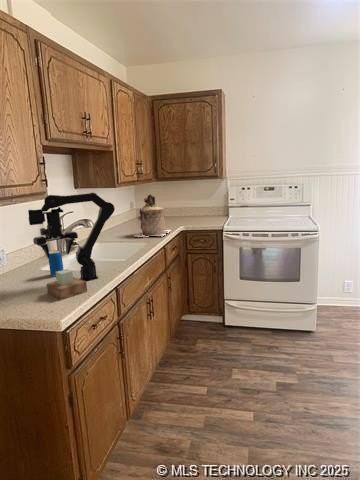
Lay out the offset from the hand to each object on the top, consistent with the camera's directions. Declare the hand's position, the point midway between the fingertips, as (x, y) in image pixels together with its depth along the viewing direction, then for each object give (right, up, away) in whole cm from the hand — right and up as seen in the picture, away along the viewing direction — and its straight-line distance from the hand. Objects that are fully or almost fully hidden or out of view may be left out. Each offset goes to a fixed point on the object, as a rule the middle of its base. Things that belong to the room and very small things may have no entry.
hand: (58, 256), depth 162 cm
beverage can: (-6, -10, +17) cm, 21 cm away
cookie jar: (+35, +11, +113) cm, 119 cm away
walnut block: (+8, -16, -12) cm, 21 cm away
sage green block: (+7, -11, -13) cm, 18 cm away
